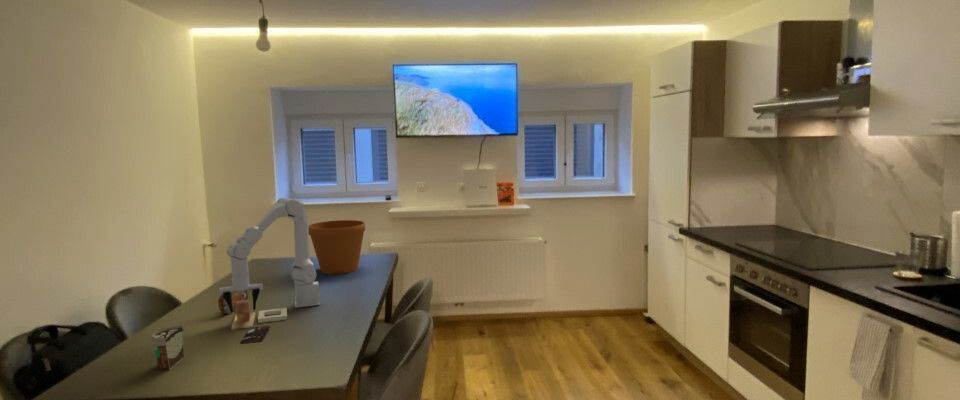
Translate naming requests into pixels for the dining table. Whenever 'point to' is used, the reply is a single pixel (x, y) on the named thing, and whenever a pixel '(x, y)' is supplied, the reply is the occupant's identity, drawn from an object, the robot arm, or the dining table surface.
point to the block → (243, 311)
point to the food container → (168, 346)
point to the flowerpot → (337, 245)
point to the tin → (235, 297)
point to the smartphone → (255, 335)
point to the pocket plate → (272, 312)
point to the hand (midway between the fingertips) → (243, 310)
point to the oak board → (244, 324)
